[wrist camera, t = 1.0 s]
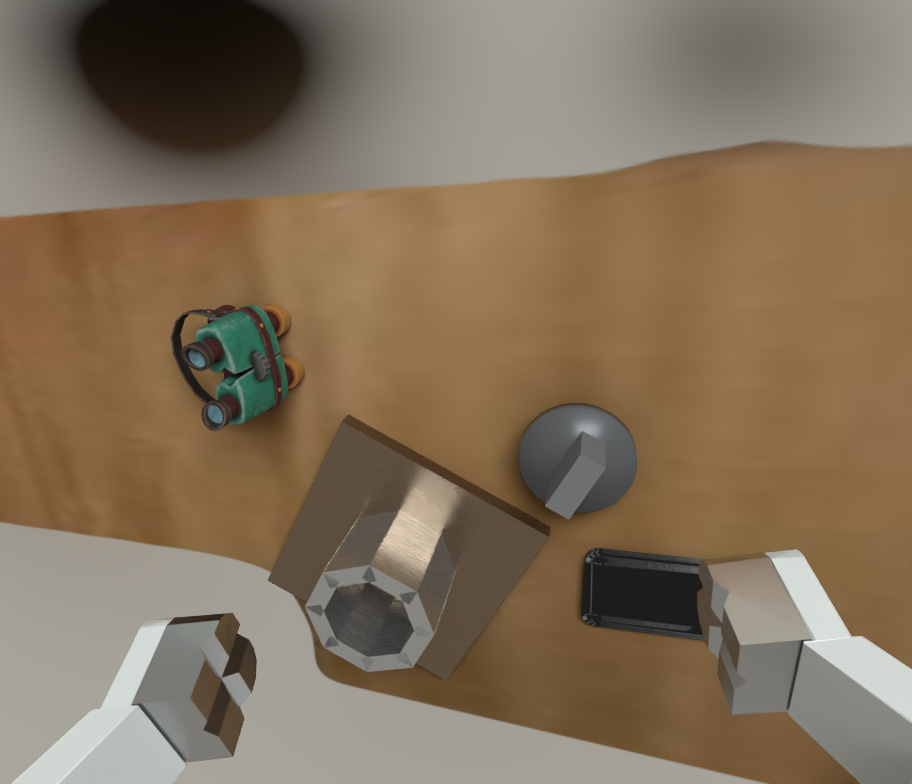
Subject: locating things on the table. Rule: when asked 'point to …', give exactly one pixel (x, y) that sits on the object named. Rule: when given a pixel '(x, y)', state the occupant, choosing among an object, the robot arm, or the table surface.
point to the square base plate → (401, 555)
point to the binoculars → (238, 361)
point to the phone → (642, 592)
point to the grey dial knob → (577, 458)
